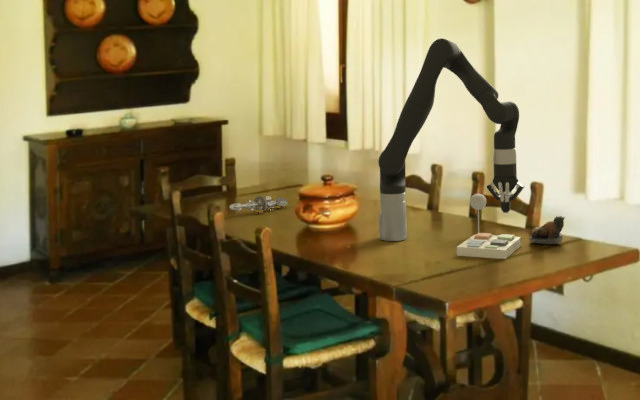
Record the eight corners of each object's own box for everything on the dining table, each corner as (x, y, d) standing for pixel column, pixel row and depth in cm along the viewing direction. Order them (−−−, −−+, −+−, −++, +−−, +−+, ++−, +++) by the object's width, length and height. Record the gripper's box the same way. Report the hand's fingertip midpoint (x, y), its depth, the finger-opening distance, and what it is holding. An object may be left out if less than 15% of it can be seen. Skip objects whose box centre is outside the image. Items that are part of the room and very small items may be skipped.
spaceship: (221, 201, 377) (233, 195, 372) (279, 196, 403) (291, 190, 398) (225, 219, 376) (237, 213, 370) (284, 213, 402) (296, 208, 396)
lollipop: (486, 236, 325) (486, 195, 322) (470, 236, 326) (469, 195, 323) (487, 232, 331) (486, 192, 328) (470, 232, 332) (470, 192, 329)
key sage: (497, 244, 305) (497, 236, 305) (501, 241, 309) (501, 234, 309) (510, 245, 303) (510, 237, 303) (514, 241, 307) (514, 234, 307)
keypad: (456, 255, 299) (456, 245, 298) (475, 242, 316) (475, 232, 315) (505, 259, 291) (505, 248, 290) (521, 245, 308) (521, 235, 308)
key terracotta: (474, 242, 309) (474, 235, 309) (478, 239, 313) (478, 232, 313) (487, 243, 307) (487, 236, 306) (491, 240, 311) (491, 233, 310)
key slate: (467, 250, 302) (467, 243, 302) (471, 247, 306) (471, 240, 306) (480, 251, 300) (480, 244, 300) (484, 248, 304) (484, 241, 304)
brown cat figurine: (526, 244, 309) (526, 215, 308) (534, 240, 315) (534, 212, 313) (560, 247, 303) (560, 218, 301) (568, 243, 308) (568, 214, 307)
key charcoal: (490, 249, 298) (490, 242, 298) (494, 246, 302) (494, 239, 302) (504, 250, 296) (503, 243, 296) (507, 247, 300) (507, 240, 300)
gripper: (527, 160, 301) (528, 210, 305) (489, 159, 308) (490, 209, 311) (521, 163, 295) (522, 215, 298) (482, 163, 301) (483, 213, 304)
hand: (505, 212), depth 304 cm, fingers closed
